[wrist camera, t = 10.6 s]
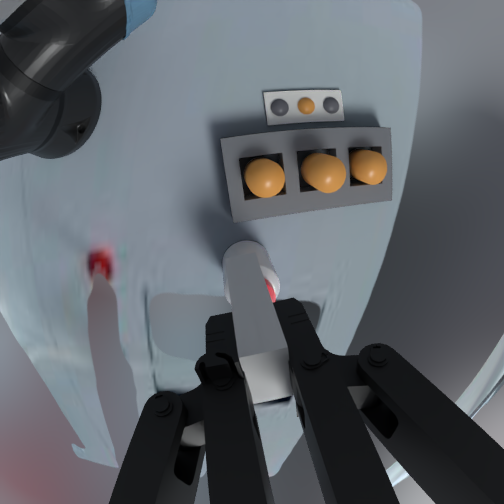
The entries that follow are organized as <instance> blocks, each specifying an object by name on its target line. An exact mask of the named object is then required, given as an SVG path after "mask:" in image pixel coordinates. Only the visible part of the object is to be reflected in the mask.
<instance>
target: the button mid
mask: <svg viewBox="0 0 504 504" xmlns="http://www.w3.org/2000/svg"><path fill="white" fill-rule="evenodd" d="M301 175H302V177H303V179H304V180H305V182H307V183H308V184H309V185H311V186H313V187H314V188H316V189H318V190H319V191H321V192H324V193H332V192H335V191H337V190H338V189H340V188H341V187H342V185H343V184H344V182H345V178H346V169H345V166H344V164H343V163H342V161H341V160H340V159H338V158H337V157H334V156H331V155H327V154H323V153H312V154H309V155H308V156H307V157H306V158H305V159H304V160H303V162H302V164H301Z"/></svg>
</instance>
